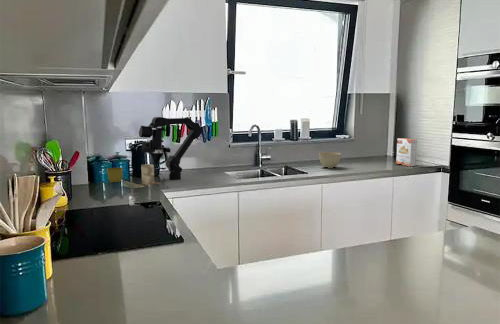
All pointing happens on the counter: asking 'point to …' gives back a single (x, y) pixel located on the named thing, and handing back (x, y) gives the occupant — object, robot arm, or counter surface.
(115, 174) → the flower pot
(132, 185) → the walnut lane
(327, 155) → the planter bowl
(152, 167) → the beech block
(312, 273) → the counter surface
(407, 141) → the cracker box
